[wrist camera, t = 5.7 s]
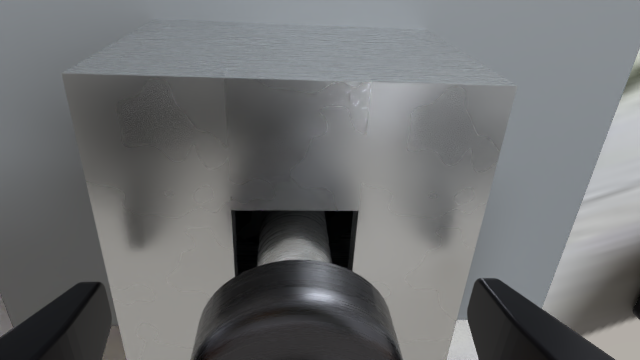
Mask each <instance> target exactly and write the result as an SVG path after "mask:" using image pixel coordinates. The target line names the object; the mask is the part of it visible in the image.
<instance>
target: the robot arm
mask: <svg viewBox="0 0 640 360" xmlns="http://www.w3.org/2000/svg"><path fill="white" fill-rule="evenodd" d="M633 313H634V314H635V315H636V316H637V317H638V319H640V296H639V298H638V300H637V302H636V304H635V306H634V308H633ZM467 319H468V323H469V326H470V330H471V333H472V337H473V341H474V344H475V348H476V351H477V355H478V358H479V360H615V359H614V358H612V357H611V356H609V355H608V354H606V353H605V352H604V351H602V350H601V349H599V348H598V347H596V346H595V345H593V344H592V343H591V342H589V341H588V340H586V339H585V338H583V337H582V336H580V335H579V334H578V333H576V332H575V331H573V330H572V329H570V328H569V327H567V326H566V325H565V324H563V323H562V322H560V321H559V320H557V319H556V318H554V317H553V316H552V315H550V314H549V313H547V312H546V311H544V310H543V309H541V308H540V307H539V306H537V305H536V304H534V303H533V302H531V301H530V300H528V299H527V298H526V297H524V296H523V295H521V294H520V293H518V292H517V291H515V290H514V289H513V288H511V287H510V286H508V285H507V284H505V283H504V282H502V281H501V280H499V279H497V278H479V279H477V280H476V281H475V283H474V285H473V289H472V293H471V297H470V300H469V304H468V308H467ZM111 323H112V313H111V309H110V305H109V300H108V296H107V292H106V288H105V286H104V284H103V283H101V282H79V283H77V284H76V285H74V286H73V287H71V288H70V289H68V290H67V291H66V292H64V293H63V294H61V295H60V296H58V297H57V298H56V299H54V300H53V301H51V302H50V303H48V304H47V305H46V306H44V307H43V308H41V309H40V310H39V311H37V312H36V313H34V314H33V315H31V316H30V317H29V318H27V319H26V320H24V321H23V322H21V323H20V324H19V325H17V326H16V327H14V328H13V329H12V330H10V331H9V332H7V333H6V334H4V335H3V336H2V337H0V360H102V357H103V353H104V350H105V346H106V343H107V339H108V335H109V332H110V328H111Z"/></svg>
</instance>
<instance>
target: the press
mask: <svg viewBox="0 0 640 360" xmlns="http://www.w3.org/2000/svg"><path fill="white" fill-rule="evenodd" d="M61 74H62V78H63V83H64V87H65V91H66V96H67V100H68V105H69V109H70V113H71V118H72V122H73V127H74V131H75V135H76V140H77V144H78V149H79V153H80V157H81V162H82V166H83V171H84V175H85V179H86V184H87V188H88V193H89V197H90V202H91V206H92V210H93V215H94V219H95V224H96V228H97V232H98V237H99V241H100V246H101V250H102V254H103V259H104V263H105V268H106V272H107V276H108V281H109V285H110V290H111V294H112V298H113V303H114V307H115V312H116V316H117V321H118V325H119V329H120V334H121V338H122V343H123V347H124V351H125V356H126V360H190V359H191V355H192V351H193V346H194V342H195V337H196V333H197V329H198V324H199V320H200V317H201V314H202V311H203V309H204V307H205V306H206V304H207V302H208V301H209V299H210V298H211V297H212V296H213V294H214V293H215V292H216V291H217V290H218V289H219V288H220V287H221V286H222V285H224V284H225V283H226V282H228V281H229V280H231V279H232V278H233V277H235V276H237V275H239V274H241V273H243V272H244V271H247V270H249V269H252V268H254V267H257V259H258V248H259V244H256V243H253V242H251V241H248V240H246V239H244V238H242V237H240V236H239V235H237V234H236V220H235V210H290V211H353V219H352V229H351V232H347V233H345V234H344V235H342V236H340V237H338V238H336V239H334V240H332V241H330V242H329V248H330V255H331V262H332V264H335V265H338V266H341V267H344V268H346V269H349V270H351V271H353V272H355V273H356V274H358V275H360V276H362V277H363V278H364V279H366V280H367V281H368V282H370V283H371V284H372V285H373V286H374V287H375V288H376V289H377V290H378V291H379V293H380V294H381V295H382V297H383V298H384V300H385V302H386V304H387V306H388V308H389V311H390V315H391V318H392V322H393V325H394V329H395V333H396V336H397V340H398V343H399V347H400V350H401V354H402V357H403V360H446V359H447V355H448V351H449V347H450V343H451V339H452V336H453V332H454V328H455V324H456V320H457V316H458V313H459V309H460V305H461V301H462V297H463V293H464V289H465V286H466V282H467V278H468V274H469V270H470V266H471V263H472V259H473V255H474V251H475V247H476V243H477V239H478V236H479V232H480V228H481V224H482V220H483V216H484V213H485V209H486V205H487V201H488V197H489V193H490V189H491V186H492V182H493V178H494V174H495V170H496V166H497V163H498V159H499V155H500V151H501V147H502V143H503V139H504V136H505V132H506V128H507V124H508V120H509V116H510V113H511V109H512V105H513V101H514V97H515V93H516V89H517V86H516V85H515V84H513V83H512V82H510V81H508V80H507V79H505V78H503V77H502V76H500V75H499V74H497V73H495V72H494V71H492V70H491V69H489V68H487V67H486V66H484V65H483V64H481V63H479V62H478V61H476V60H474V59H473V58H471V57H470V56H468V55H466V54H465V53H463V52H462V51H460V50H458V49H457V48H455V47H454V46H452V45H450V44H449V43H447V42H445V41H444V40H442V39H441V38H439V37H437V36H436V35H434V34H433V33H431V32H429V31H428V30H424V29H398V28H372V27H345V26H319V25H293V24H267V23H241V22H215V21H188V20H162V19H154V20H152V21H150V22H149V23H147V24H145V25H143V26H142V27H140V28H138V29H137V30H135V31H133V32H131V33H130V34H128V35H126V36H125V37H123V38H121V39H119V40H118V41H116V42H114V43H113V44H111V45H109V46H107V47H106V48H104V49H102V50H101V51H99V52H97V53H95V54H94V55H92V56H90V57H89V58H87V59H85V60H83V61H82V62H80V63H78V64H77V65H75V66H73V67H71V68H70V69H68V70H66V71H65V72H63V73H61Z"/></svg>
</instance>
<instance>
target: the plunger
mask: <svg viewBox="0 0 640 360" xmlns="http://www.w3.org/2000/svg"><path fill="white" fill-rule="evenodd" d="M352 219H353V211H290V210H235V220H236V234H237V235H239V236H240V237H242V238H244V239H246V240H248V241H251V242H253V243H256V244H259V248H258V259H257V267H254V268H252V269H249V270H247V271H244V272H243V273H241V274H239V275H237V276H235V277H233V278H232V279H231V280H229V281H228V282H226V283H225V284H224V285H222V286H221V287H220V288H219V289H218V290H217V291H216V292H215V293H214V294H213V296H212V297H211V298H210V299H209V301H208V302H207V304H206V306H205V307H204V309H203V311H202V314H201V317H200V320H199V324H198V329H197V333H196V337H195V342H194V346H193V351H192V355H191V359H190V360H403V357H402V354H401V350H400V347H399V343H398V340H397V336H396V333H395V329H394V325H393V322H392V318H391V315H390V311H389V308H388V306H387V304H386V302H385V300H384V298H383V297H382V295H381V294H380V293H379V291H378V290H377V289H376V288H375V287H374V286H373V285H372V284H371V283H370V282H368V281H367V280H366V279H364V278H363V277H362V276H360V275H358V274H356V273H355V272H353V271H351V270H349V269H346V268H344V267H341V266H338V265H335V264H332V262H331V255H330V248H329V242H330V241H332V240H334V239H336V238H338V237H340V236H342V235H344V234H345V233H347V232H348V231H350V230H351V229H352Z"/></svg>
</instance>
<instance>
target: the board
mask: <svg viewBox="0 0 640 360" xmlns="http://www.w3.org/2000/svg"><path fill="white" fill-rule="evenodd" d="M154 19H162V20H188V21H215V22H241V23H267V24H293V25H319V26H345V27H372V28H398V29H424V30H428V31H429V32H431V33H433V34H434V35H436V36H437V37H439V38H441V39H442V40H444V41H445V42H447V43H449V44H450V45H452V46H454V47H455V48H457V49H458V50H460V51H462V52H463V53H465V54H466V55H468V56H470V57H471V58H473V59H474V60H476V61H478V62H479V63H481V64H483V65H484V66H486V67H487V68H489V69H491V70H492V71H494V72H495V73H497V74H499V75H500V76H502V77H503V78H505V79H507V80H508V81H510V82H512V83H513V84H515V85H516V86H517V89H516V93H515V97H514V101H513V105H512V109H511V113H510V116H509V120H508V124H507V128H506V132H505V136H504V139H503V143H502V147H501V151H500V155H499V159H498V163H497V166H496V170H495V174H494V178H493V182H492V186H491V189H490V193H489V197H488V201H487V205H486V209H485V213H484V216H483V220H482V224H481V228H480V232H479V236H478V239H477V243H476V247H475V251H474V255H473V259H472V263H471V266H470V270H469V274H468V278H467V282H466V286H465V289H464V293H463V297H462V301H461V305H460V309H459V313H458V316H457V320H468V319H467V308H468V304H469V300H470V297H471V293H472V289H473V285H474V283H475V281H476V280H477V279H479V278H497V279H499V280H501V281H502V282H504V283H505V284H507V285H508V286H510V287H511V288H513V289H514V290H515V291H517V292H518V293H520V294H521V295H523V296H524V297H526V298H527V299H528V300H530V301H531V302H533V303H534V304H536V305H537V306H539V307H540V308H541V309H542V306H543V304H544V301H545V298H546V296H547V293H548V290H549V288H550V285H551V282H552V280H553V277H554V274H555V272H556V269H557V266H558V264H559V261H560V258H561V256H562V253H563V250H564V248H565V245H566V242H567V240H568V237H569V234H570V232H571V229H572V226H573V224H574V221H575V219H576V216H577V213H578V211H579V208H580V205H581V203H582V200H583V197H584V195H585V192H586V189H587V187H588V184H589V181H590V179H591V176H592V173H593V171H594V168H595V165H596V163H597V160H598V157H599V155H600V152H601V149H602V147H603V144H604V141H605V139H606V136H607V133H608V131H609V128H610V125H611V123H612V120H613V117H614V115H615V112H616V109H617V107H618V104H619V101H620V99H621V96H622V93H623V91H624V88H625V86H626V83H627V80H628V78H629V75H630V72H631V70H632V67H633V64H634V62H635V59H636V56H637V54H638V51H639V48H640V0H0V294H1V296H2V299H3V302H4V304H5V307H6V310H7V312H8V315H9V317H10V320H11V323H12V325H13V327H16V326H17V325H19V324H20V323H21V322H23V321H24V320H26V319H27V318H29V317H30V316H31V315H33V314H34V313H36V312H37V311H39V310H40V309H41V308H43V307H44V306H46V305H47V304H48V303H50V302H51V301H53V300H54V299H56V298H57V297H58V296H60V295H61V294H63V293H64V292H66V291H67V290H68V289H70V288H71V287H73V286H74V285H76V284H77V283H79V282H101V283H103V284H104V286H105V288H106V292H107V296H108V300H109V305H110V309H111V313H112V323H111V325H118V321H117V316H116V312H115V307H114V303H113V298H112V294H111V290H110V285H109V281H108V276H107V272H106V268H105V263H104V259H103V254H102V250H101V246H100V241H99V237H98V232H97V228H96V224H95V219H94V215H93V210H92V206H91V202H90V197H89V193H88V188H87V184H86V179H85V175H84V171H83V166H82V162H81V157H80V153H79V149H78V144H77V140H76V135H75V131H74V127H73V122H72V118H71V113H70V109H69V105H68V100H67V96H66V91H65V87H64V83H63V78H62V74H61V73H63V72H65V71H66V70H68V69H70V68H71V67H73V66H75V65H77V64H78V63H80V62H82V61H83V60H85V59H87V58H89V57H90V56H92V55H94V54H95V53H97V52H99V51H101V50H102V49H104V48H106V47H107V46H109V45H111V44H113V43H114V42H116V41H118V40H119V39H121V38H123V37H125V36H126V35H128V34H130V33H131V32H133V31H135V30H137V29H138V28H140V27H142V26H143V25H145V24H147V23H149V22H150V21H152V20H154ZM348 232H351V230H350V231H348Z"/></svg>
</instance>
